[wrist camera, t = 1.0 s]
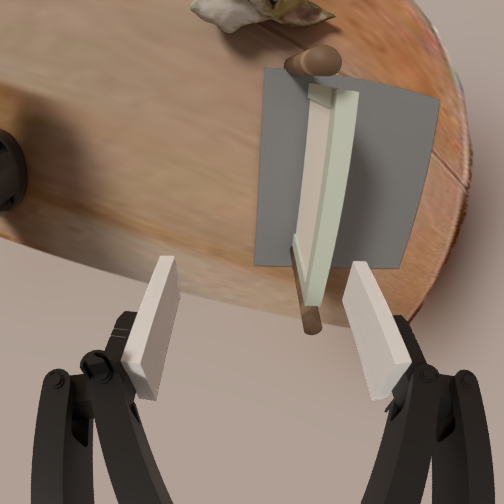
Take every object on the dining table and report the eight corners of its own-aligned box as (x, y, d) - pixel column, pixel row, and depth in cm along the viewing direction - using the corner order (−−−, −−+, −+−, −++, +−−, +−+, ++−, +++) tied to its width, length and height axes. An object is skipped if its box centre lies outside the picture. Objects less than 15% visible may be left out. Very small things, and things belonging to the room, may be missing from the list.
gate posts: (287, 253, 45) (301, 335, 32) (283, 56, 30) (307, 44, 17) (303, 253, 45) (322, 334, 32) (303, 57, 30) (341, 46, 17)
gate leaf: (304, 245, 43) (320, 306, 32) (292, 244, 43) (304, 306, 32) (323, 84, 30) (359, 91, 20) (308, 83, 30) (337, 88, 20)
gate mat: (254, 263, 46) (254, 265, 46) (264, 67, 31) (264, 67, 30) (397, 266, 47) (398, 268, 46) (438, 99, 31) (440, 99, 31)
